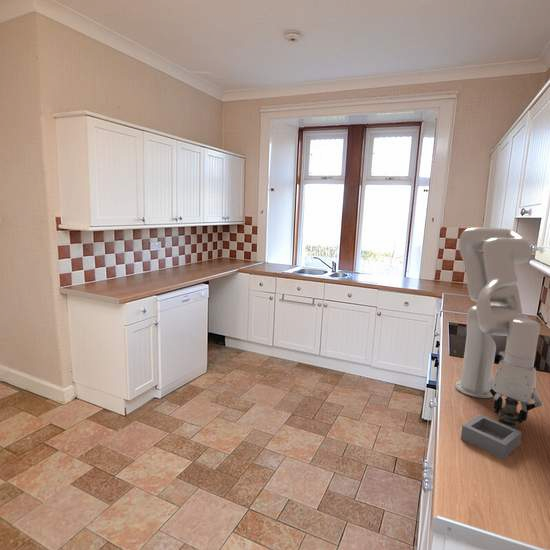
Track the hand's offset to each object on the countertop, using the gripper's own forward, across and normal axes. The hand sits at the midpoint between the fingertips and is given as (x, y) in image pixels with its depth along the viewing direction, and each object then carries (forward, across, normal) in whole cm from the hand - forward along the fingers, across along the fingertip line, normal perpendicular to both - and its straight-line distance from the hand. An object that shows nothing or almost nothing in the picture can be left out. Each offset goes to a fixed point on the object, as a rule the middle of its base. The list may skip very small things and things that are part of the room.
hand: (509, 416), depth 115 cm
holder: (+3, +1, -15) cm, 15 cm away
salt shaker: (+3, 0, 0) cm, 3 cm away
